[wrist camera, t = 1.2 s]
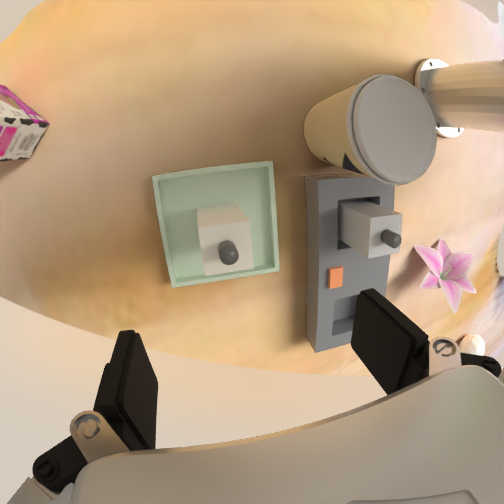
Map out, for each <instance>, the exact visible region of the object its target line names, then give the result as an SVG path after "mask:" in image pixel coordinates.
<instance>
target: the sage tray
mask: <svg viewBox="0 0 504 504" xmlns="http://www.w3.org/2000/svg"><path fill="white" fill-rule="evenodd" d="M152 182H153V189H154V196H155V202H156V208H157V214H158V220H159V226H160V231H161V237H162V242H163V247H164V252H165V257H166V262H167V267H168V271H169V276H170V280H171V285H172V288H175V287H182V286H189V285H195V284H202V283H208V282H215V281H221V280H228V279H234V278H240V277H246V276H253V275H259V274H265V273H271V272H277V271H280V267H279V247H278V229H277V213H276V197H275V182H274V169H273V161H259V162H248V163H238V164H229V165H220V166H212V167H204V168H197V169H190V170H183V171H176V172H170V173H164V174H158V175H154V176H152ZM228 203H236V204H237V205H238V206H239V208H240V209H241V210H242V212H243V213H244V214H245V215H246V217H247V218H248V219H249V220H250V228H251V240H252V251H253V262H254V268H253V269H246V270H240V271H234V272H227V273H221V274H214V275H208V276H205V271H204V265H203V259H202V253H201V246H200V240H199V233H198V221H197V208H199V207H206V206H213V205H220V204H228Z"/></svg>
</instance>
